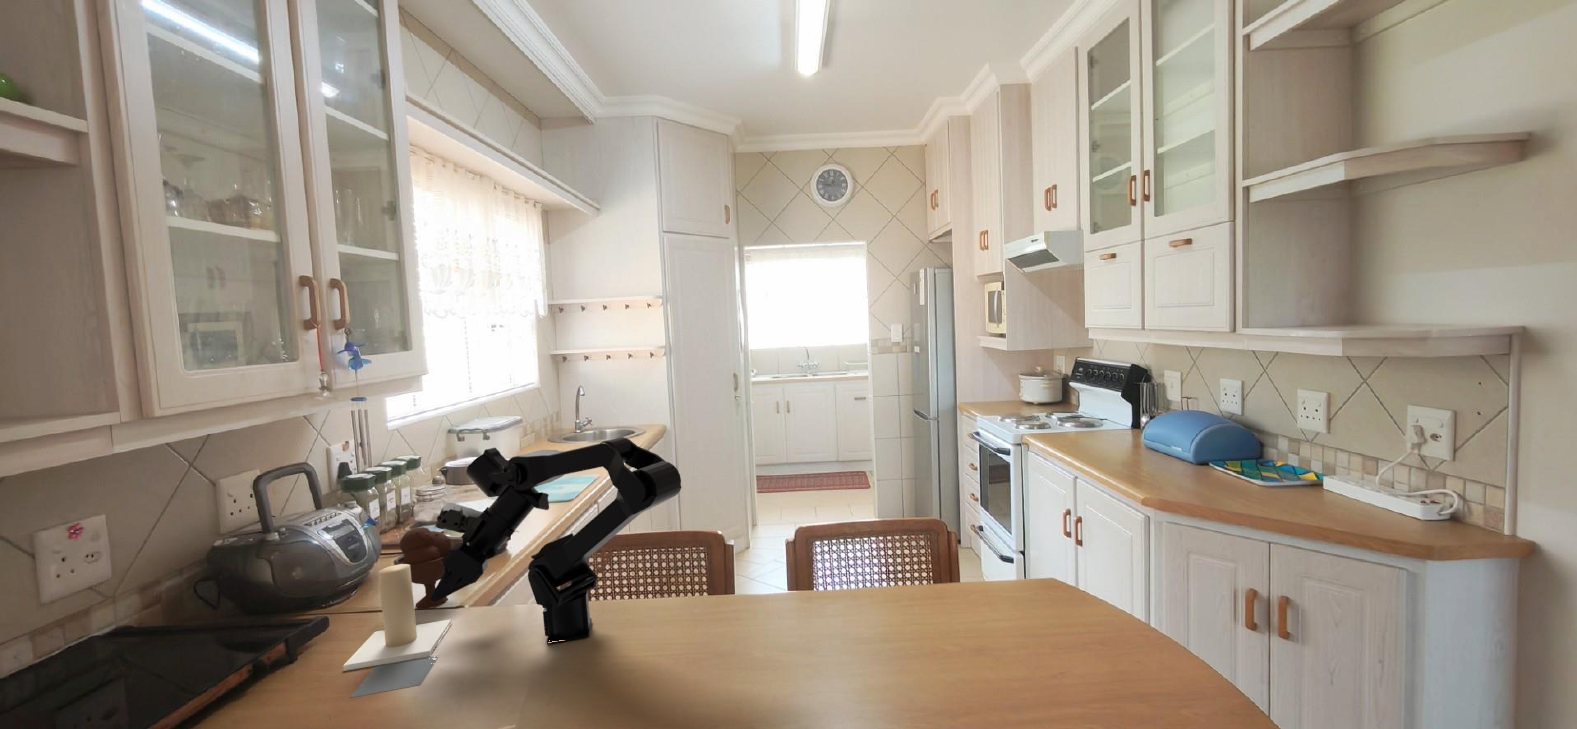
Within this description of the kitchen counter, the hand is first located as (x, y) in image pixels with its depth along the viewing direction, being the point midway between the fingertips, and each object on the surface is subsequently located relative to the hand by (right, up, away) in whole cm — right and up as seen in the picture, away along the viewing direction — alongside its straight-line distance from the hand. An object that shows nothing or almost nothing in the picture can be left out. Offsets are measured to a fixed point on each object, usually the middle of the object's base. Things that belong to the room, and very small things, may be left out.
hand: (441, 590), depth 105 cm
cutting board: (-6, -9, -1) cm, 11 cm away
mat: (0, -9, -11) cm, 14 cm away
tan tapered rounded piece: (-6, -8, -1) cm, 10 cm away
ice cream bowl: (-11, -9, +17) cm, 22 cm away
